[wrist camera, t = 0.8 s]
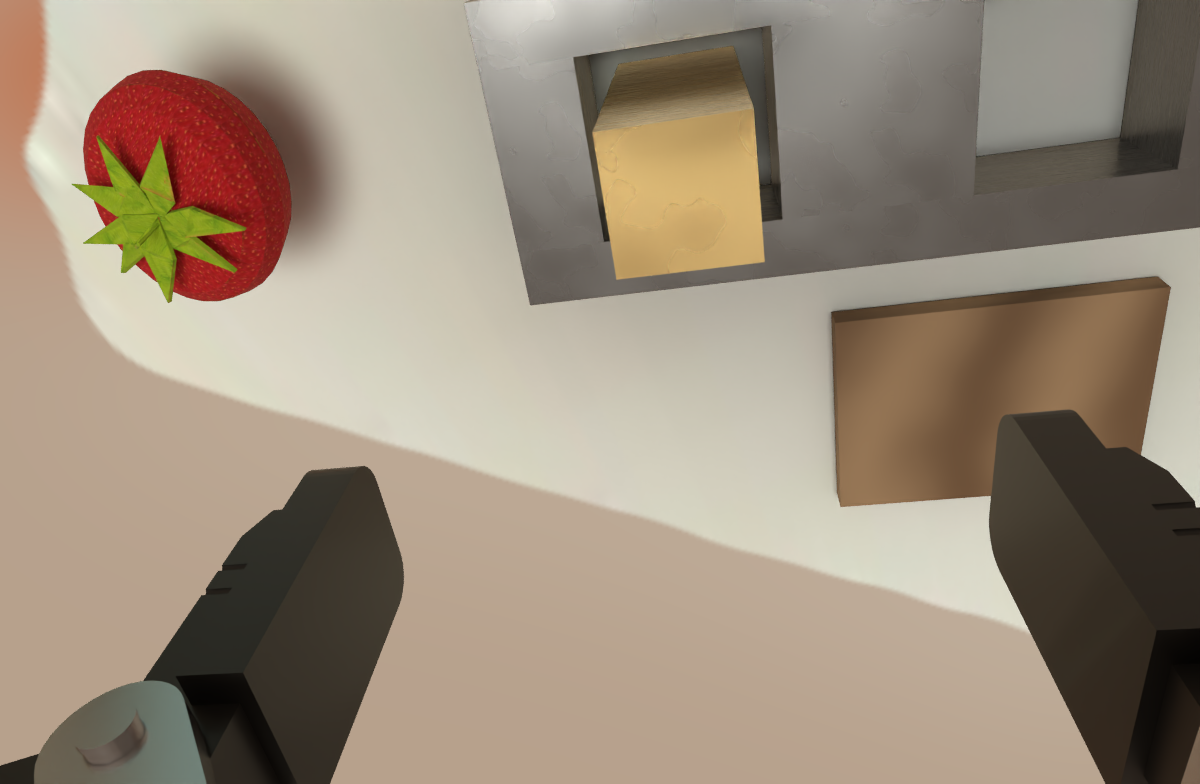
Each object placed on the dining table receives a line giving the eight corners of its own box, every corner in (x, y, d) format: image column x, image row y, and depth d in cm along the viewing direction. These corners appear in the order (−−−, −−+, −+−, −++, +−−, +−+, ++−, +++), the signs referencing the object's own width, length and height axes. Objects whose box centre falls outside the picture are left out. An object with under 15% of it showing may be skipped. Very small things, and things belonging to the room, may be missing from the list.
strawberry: (299, 30, 30) (146, 84, 22) (363, 232, 34) (254, 346, 25) (149, 57, 31) (-54, 120, 23) (227, 251, 35) (78, 367, 26)
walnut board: (1157, 276, 32) (1170, 287, 31) (1124, 470, 36) (1135, 484, 36) (831, 312, 34) (835, 323, 33) (837, 493, 38) (840, 507, 37)
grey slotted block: (1265, -147, 25) (1356, -153, 22) (1203, 182, 30) (1270, 218, 27) (489, -10, 29) (463, 3, 26) (545, 263, 34) (530, 305, 30)
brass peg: (733, 45, 29) (754, 108, 21) (742, 160, 31) (764, 261, 23) (618, 64, 30) (592, 132, 21) (634, 175, 32) (616, 279, 23)
